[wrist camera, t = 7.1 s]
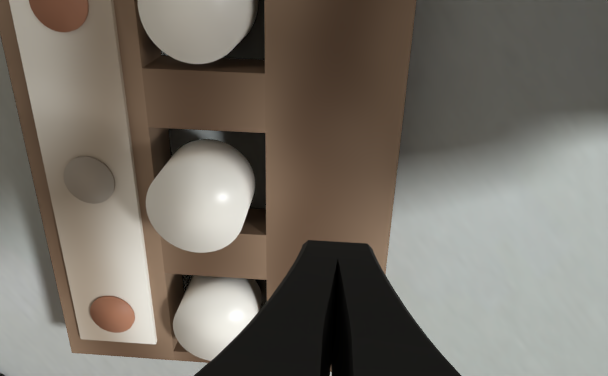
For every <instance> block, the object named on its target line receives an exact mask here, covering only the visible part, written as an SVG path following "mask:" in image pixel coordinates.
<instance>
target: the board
mask: <svg viewBox="0 0 608 376" xmlns="http://www.w3.org/2000/svg"><path fill="white" fill-rule="evenodd" d="M415 8H416V0H264V21H265V60H259V59H235V58H220V59H218V60H216V61H213V62H210V63H205V64H190V63H185V62H182V61H179V60H176V59H174V58H172V57H170V56H162V55H161V49H159V48H158V47H157V46H156V45H155V44H154V42H153V41H152V40H151V39H150V37H149V36H148V34H147V33H146V31H145V29H144V27H143V24H142V22H141V19H140V15H139V10H138V0H0V35H1V39H2V44H3V48H4V53H5V57H6V62H7V66H8V70H9V75H10V79H11V84H12V88H13V93H14V97H15V102H16V106H17V110H18V115H19V119H20V124H21V128H22V133H23V137H24V142H25V146H26V150H27V155H28V159H29V164H30V168H31V173H32V177H33V182H34V186H35V190H36V195H37V199H38V204H39V208H40V213H41V217H42V222H43V226H44V230H45V235H46V239H47V244H48V248H49V253H50V257H51V262H52V266H53V270H54V275H55V279H56V284H57V288H58V293H59V297H60V301H61V306H62V310H63V315H64V319H65V324H66V328H67V333H68V337H69V341H70V346H71V350H72V353H82V354H96V355H110V356H124V357H138V358H151V359H165V360H179V361H193V362H206V363H209V362H210V361H209V360H205V359H202V358H199V357H197V356H195V355H193V354H191V353H190V352H188V351H187V350H186V349H184V348H183V347H182V345H181V344H180V343H179V342H178V340H177V338H176V337H175V334H174V330H173V320H174V317H175V314H176V312H177V310H178V308H179V305H180V303H181V301H182V299H183V296H184V290H183V279H182V274H183V275H199V276H214V277H230V278H246V279H261V280H267V301H268V300H269V298H270V297H271V296H272V294H273V293H274V292H275V290H276V289H277V287H278V286H279V285H280V283H281V282H282V280H283V279H284V277H285V276H286V275H287V273H288V271H289V270H290V268H291V267H292V265H293V263H294V262H295V260H296V258H297V256H298V254H299V252H300V250H301V248H302V245H303V244H304V243H305V242H307V241H308V240H318V241H334V242H351V243H368V245H369V246H370V247H371V248H372V249H373V252H374V254H375V256H376V258H377V260H378V262H379V264H380V266H381V268H382V270H383V272H384V274H385V272H386V263H387V255H388V246H389V237H390V228H391V219H392V211H393V202H394V193H395V184H396V175H397V167H398V158H399V149H400V140H401V131H402V123H403V114H404V105H405V96H406V87H407V79H408V70H409V61H410V52H411V43H412V35H413V26H414V17H415ZM168 128H173V129H193V130H214V131H235V132H255V133H265V147H266V209H253V208H249V210H248V213H247V216H246V218H245V221H244V224H243V227H242V230H241V231H240V233H239V235H238V236H237V237H236V239H235V240H234V241H233V242H232V243H230V244H229V245H228V246H226V247H224V248H222V249H220V250H217V251H213V252H206V253H197V252H190V251H186V250H183V249H180V248H178V247H176V246H174V245H172V244H170V243H169V242H167V241H166V240H165V239H163V238H162V237H161V236H160V235H159V234H158V232H157V231H156V230H155V229H154V227H153V226H152V224H151V222H150V220H149V217H148V215H147V210H146V195H147V192H148V189H149V187H150V185H151V183H152V182H153V180H154V179H155V178H156V176H157V175H158V174H159V172H160V171H161V170H162V169H163V167H164V166H165V165H166V164H167V162H168V161H169V160H170V158H171V152H170V142H169V131H168ZM330 371H331V372H332V369H331V368H330Z"/></svg>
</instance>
